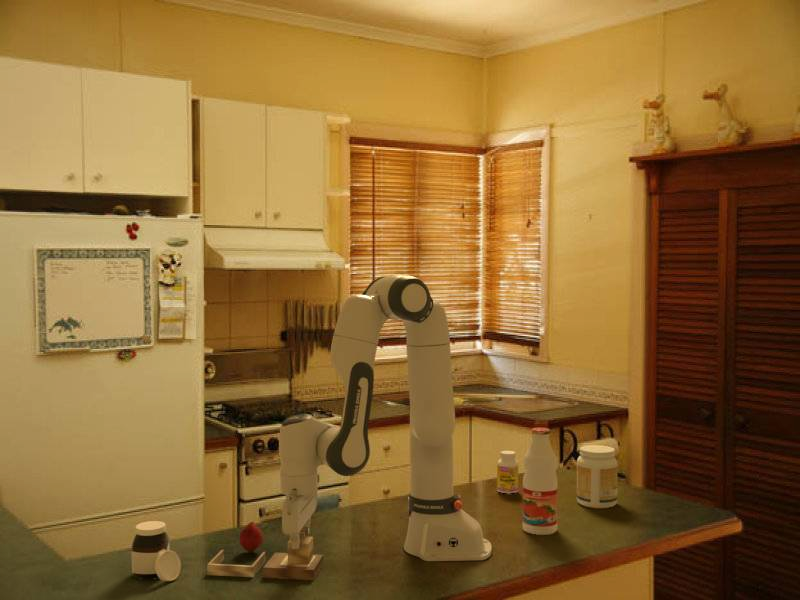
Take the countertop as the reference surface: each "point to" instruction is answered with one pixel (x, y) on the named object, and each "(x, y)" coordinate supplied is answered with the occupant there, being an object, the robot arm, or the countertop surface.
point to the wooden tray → (267, 567)
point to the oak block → (301, 551)
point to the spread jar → (153, 553)
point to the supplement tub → (597, 476)
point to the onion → (251, 537)
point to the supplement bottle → (507, 473)
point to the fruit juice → (540, 485)
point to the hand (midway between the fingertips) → (300, 541)
